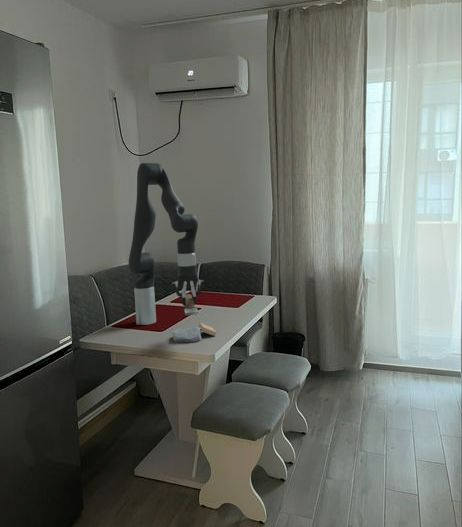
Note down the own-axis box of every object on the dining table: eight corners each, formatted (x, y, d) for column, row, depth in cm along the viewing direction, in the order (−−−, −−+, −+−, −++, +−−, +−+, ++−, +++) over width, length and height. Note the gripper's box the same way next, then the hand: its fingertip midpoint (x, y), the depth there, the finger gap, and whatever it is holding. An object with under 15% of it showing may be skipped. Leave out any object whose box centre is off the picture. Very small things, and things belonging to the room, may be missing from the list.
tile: (198, 326, 197) (202, 331, 189) (199, 322, 197) (204, 327, 189) (210, 331, 198) (215, 336, 191) (211, 327, 198) (216, 332, 191)
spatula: (185, 315, 175) (185, 306, 175) (181, 302, 193) (181, 294, 192) (198, 314, 176) (198, 305, 176) (193, 301, 194) (193, 294, 193)
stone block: (202, 345, 185) (200, 333, 195) (202, 335, 184) (200, 323, 193) (173, 349, 184) (173, 337, 193) (172, 338, 182) (172, 327, 192)
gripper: (170, 266, 179) (172, 309, 181) (205, 264, 181) (207, 306, 184) (169, 263, 186) (171, 305, 188) (203, 261, 188) (205, 302, 191)
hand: (189, 305), depth 186 cm, fingers closed on spatula, 3 cm apart
